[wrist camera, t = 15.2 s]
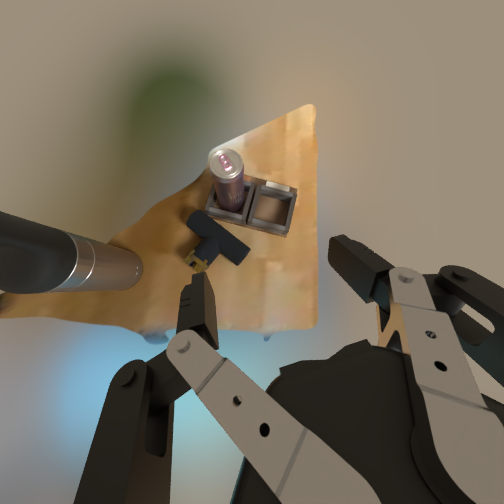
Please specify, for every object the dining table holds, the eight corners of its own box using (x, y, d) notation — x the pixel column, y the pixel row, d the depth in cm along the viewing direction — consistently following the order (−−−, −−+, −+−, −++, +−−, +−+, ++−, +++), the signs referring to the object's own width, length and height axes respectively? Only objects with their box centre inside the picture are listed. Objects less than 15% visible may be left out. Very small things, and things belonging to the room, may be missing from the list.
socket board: (206, 217, 46) (202, 210, 42) (221, 171, 48) (218, 161, 44) (285, 237, 46) (289, 232, 42) (296, 191, 48) (301, 182, 44)
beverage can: (236, 187, 46) (233, 142, 32) (247, 207, 46) (250, 170, 31) (215, 197, 46) (202, 156, 31) (226, 218, 45) (218, 185, 30)
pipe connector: (217, 288, 38) (162, 244, 39) (219, 288, 43) (171, 249, 44) (251, 246, 40) (198, 205, 41) (250, 251, 45) (203, 215, 47)
